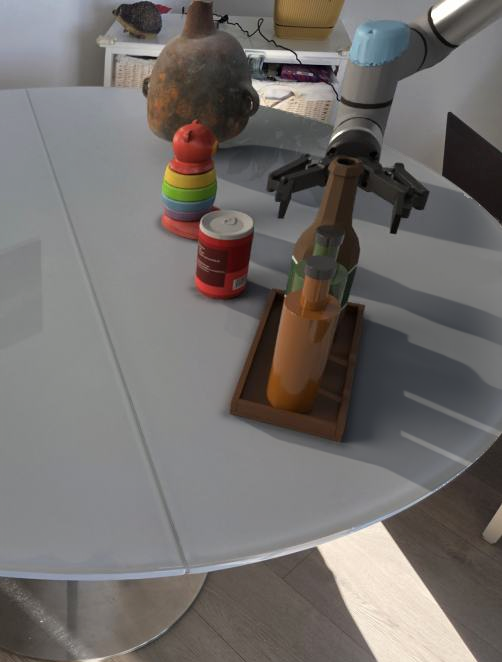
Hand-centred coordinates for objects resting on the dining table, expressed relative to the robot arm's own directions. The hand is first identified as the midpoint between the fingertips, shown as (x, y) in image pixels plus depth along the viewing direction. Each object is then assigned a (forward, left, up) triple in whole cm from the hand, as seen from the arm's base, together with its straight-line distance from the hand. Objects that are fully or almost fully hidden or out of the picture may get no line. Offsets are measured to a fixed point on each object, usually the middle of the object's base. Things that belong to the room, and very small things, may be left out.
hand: (337, 216), depth 82 cm
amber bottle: (0, +20, -15) cm, 24 cm away
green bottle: (0, +13, -15) cm, 19 cm away
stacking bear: (+24, -20, -15) cm, 35 cm away
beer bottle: (0, +5, -15) cm, 16 cm away
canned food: (+14, -2, -15) cm, 21 cm away
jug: (+33, -54, -15) cm, 65 cm away
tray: (0, +12, -15) cm, 19 cm away
